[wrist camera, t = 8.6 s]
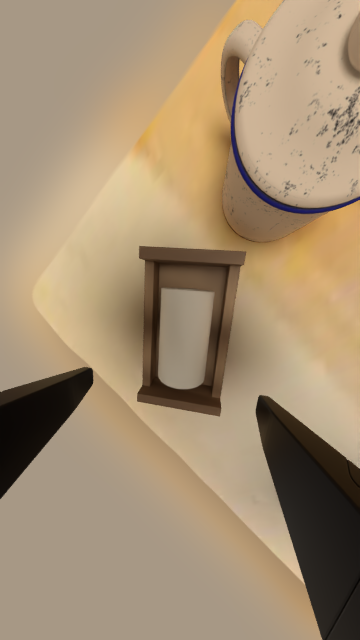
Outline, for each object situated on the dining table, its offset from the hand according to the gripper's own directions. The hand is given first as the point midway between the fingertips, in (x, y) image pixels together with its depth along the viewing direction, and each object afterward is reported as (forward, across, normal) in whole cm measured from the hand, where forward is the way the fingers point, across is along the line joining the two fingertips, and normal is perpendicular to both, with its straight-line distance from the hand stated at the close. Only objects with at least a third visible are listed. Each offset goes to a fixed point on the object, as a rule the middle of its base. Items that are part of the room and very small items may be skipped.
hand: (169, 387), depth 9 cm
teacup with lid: (+12, -5, -15) cm, 20 cm away
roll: (+8, 0, 0) cm, 8 cm away
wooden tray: (+12, 0, 0) cm, 12 cm away
